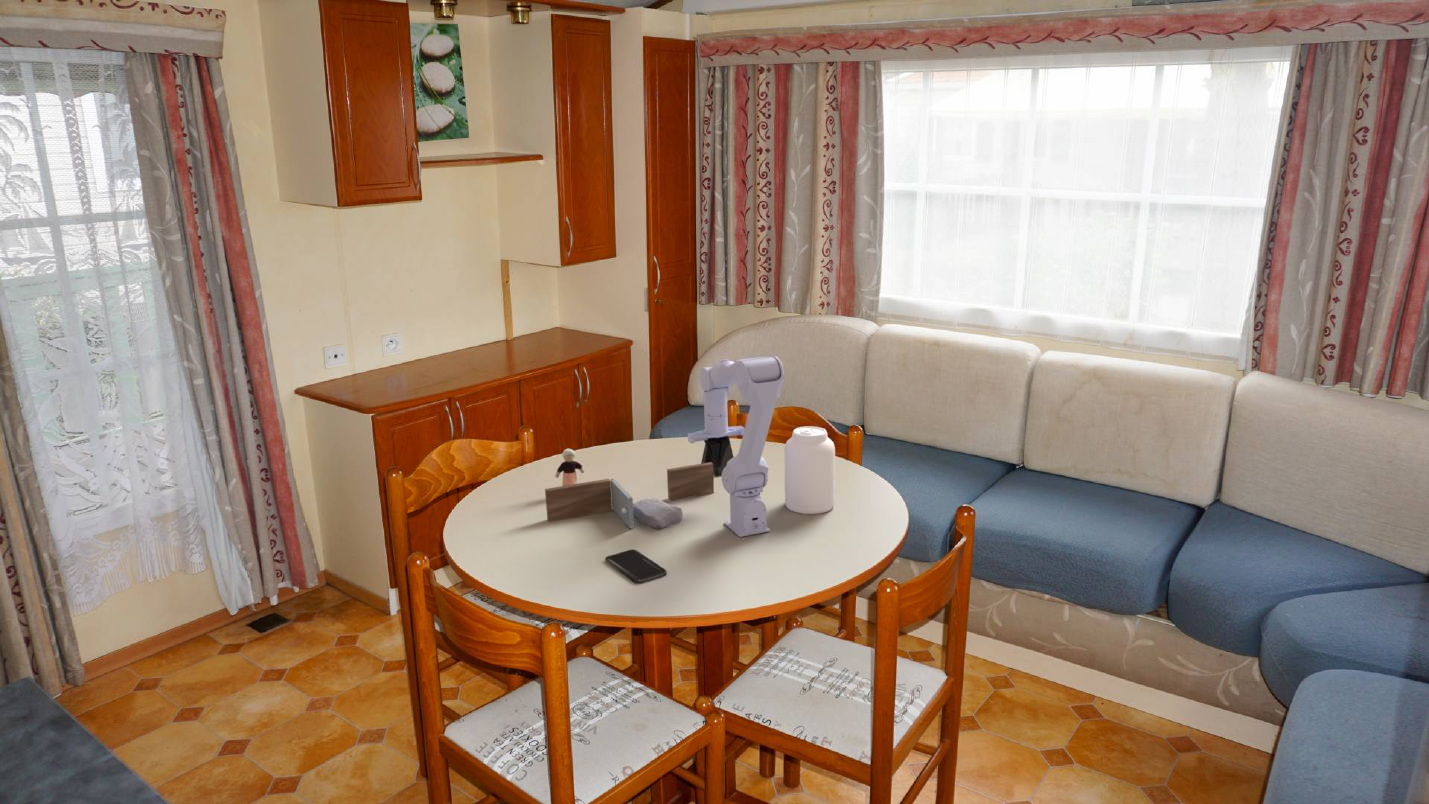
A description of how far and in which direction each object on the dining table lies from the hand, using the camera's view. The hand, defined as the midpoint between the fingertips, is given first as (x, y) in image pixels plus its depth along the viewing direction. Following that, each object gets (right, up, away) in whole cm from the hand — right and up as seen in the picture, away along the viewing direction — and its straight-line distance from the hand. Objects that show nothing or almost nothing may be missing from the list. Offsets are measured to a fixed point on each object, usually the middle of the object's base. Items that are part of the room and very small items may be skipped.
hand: (717, 465), depth 247 cm
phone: (-18, -21, -31) cm, 42 cm away
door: (-24, -12, -5) cm, 27 cm away
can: (+23, -10, +1) cm, 25 cm away
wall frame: (-21, -10, +4) cm, 24 cm away
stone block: (-14, -13, -5) cm, 20 cm away
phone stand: (0, -3, +28) cm, 28 cm away
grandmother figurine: (-38, -8, +13) cm, 41 cm away
